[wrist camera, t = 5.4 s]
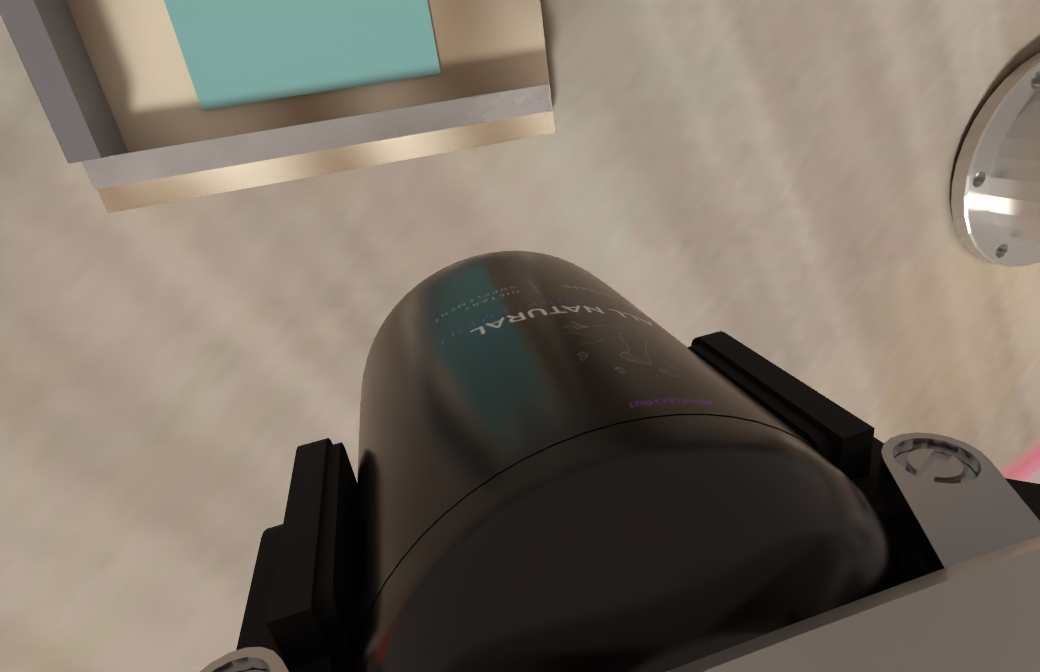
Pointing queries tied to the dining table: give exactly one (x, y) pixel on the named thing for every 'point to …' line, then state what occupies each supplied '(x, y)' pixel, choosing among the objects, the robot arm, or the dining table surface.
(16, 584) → the dining table surface
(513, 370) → the supplement bottle
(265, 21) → the board
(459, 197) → the dining table surface
